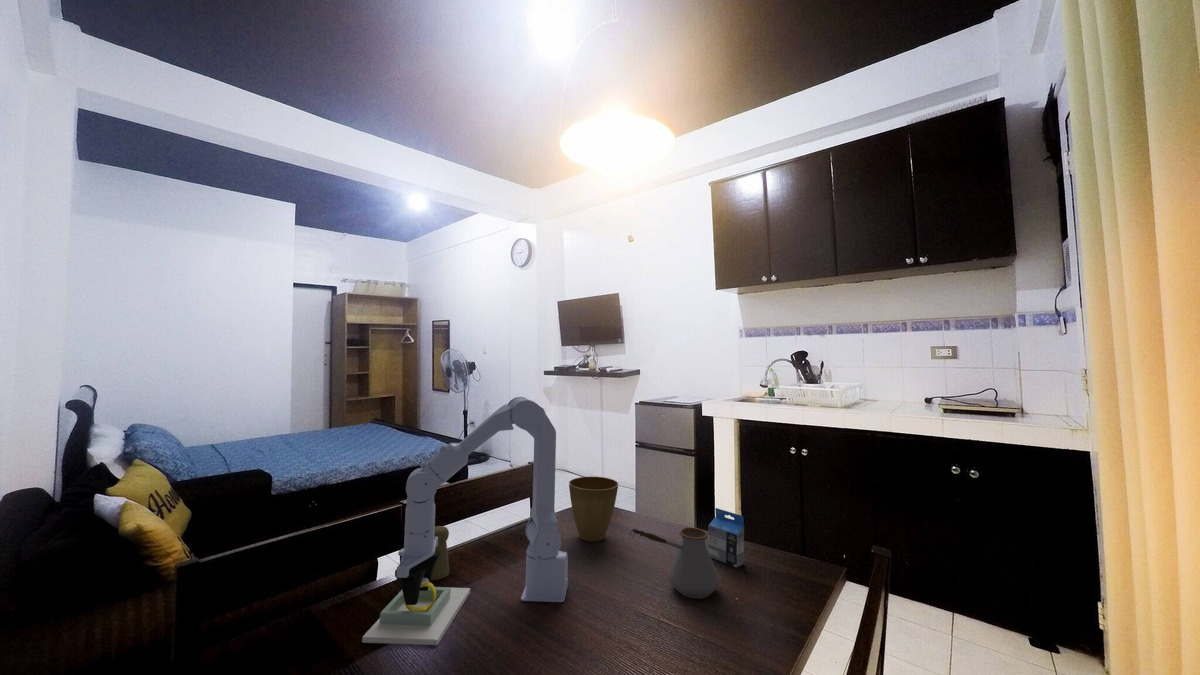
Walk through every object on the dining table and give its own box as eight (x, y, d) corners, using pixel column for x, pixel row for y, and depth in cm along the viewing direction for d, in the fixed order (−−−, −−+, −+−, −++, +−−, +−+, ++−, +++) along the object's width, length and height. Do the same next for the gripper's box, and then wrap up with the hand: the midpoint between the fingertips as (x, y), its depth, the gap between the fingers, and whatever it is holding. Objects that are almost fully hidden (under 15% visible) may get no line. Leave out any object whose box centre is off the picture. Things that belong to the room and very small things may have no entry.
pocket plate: (470, 592, 97) (470, 579, 97) (437, 645, 79) (437, 628, 79) (408, 590, 97) (409, 577, 98) (362, 642, 79) (363, 625, 80)
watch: (435, 607, 90) (439, 577, 90) (432, 614, 87) (435, 584, 88) (405, 606, 89) (409, 576, 90) (401, 614, 86) (405, 583, 87)
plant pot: (600, 552, 119) (600, 492, 120) (557, 539, 127) (558, 483, 128) (626, 534, 131) (627, 480, 132) (586, 523, 139) (587, 473, 140)
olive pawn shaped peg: (440, 581, 102) (442, 533, 102) (417, 578, 103) (419, 531, 104) (454, 569, 108) (455, 524, 108) (432, 566, 109) (433, 522, 109)
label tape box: (707, 556, 117) (707, 510, 117) (715, 552, 119) (715, 507, 120) (736, 568, 110) (736, 519, 111) (744, 563, 113) (744, 515, 114)
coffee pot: (703, 574, 107) (703, 512, 108) (729, 599, 96) (729, 530, 97) (621, 585, 101) (622, 520, 102) (638, 613, 90) (639, 539, 91)
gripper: (416, 515, 97) (414, 578, 96) (382, 542, 82) (378, 616, 81) (447, 516, 96) (445, 579, 96) (418, 544, 82) (415, 618, 81)
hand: (417, 596), depth 88 cm, fingers open, 5 cm apart
